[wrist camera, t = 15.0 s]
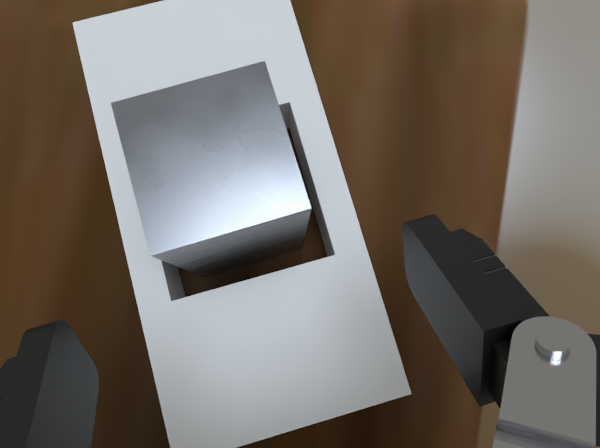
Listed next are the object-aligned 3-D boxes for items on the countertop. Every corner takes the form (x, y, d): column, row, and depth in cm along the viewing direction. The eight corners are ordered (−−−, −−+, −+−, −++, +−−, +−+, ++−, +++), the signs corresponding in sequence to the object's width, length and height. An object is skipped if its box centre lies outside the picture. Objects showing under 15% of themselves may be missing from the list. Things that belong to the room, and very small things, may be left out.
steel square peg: (205, 277, 22) (150, 255, 13) (179, 182, 23) (110, 103, 14) (302, 247, 23) (311, 207, 14) (273, 155, 23) (264, 60, 14)
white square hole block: (190, 444, 21) (174, 466, 18) (99, 58, 24) (72, 22, 21) (394, 382, 22) (411, 393, 19) (282, 12, 25) (281, -28, 22)
